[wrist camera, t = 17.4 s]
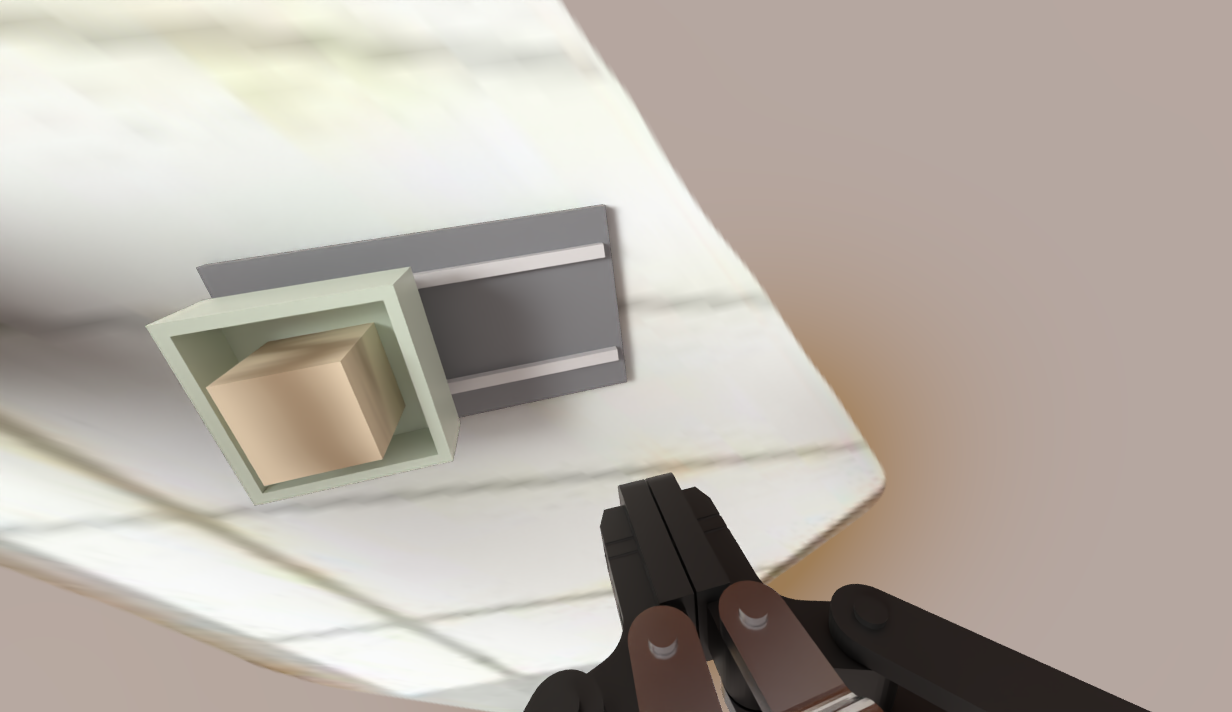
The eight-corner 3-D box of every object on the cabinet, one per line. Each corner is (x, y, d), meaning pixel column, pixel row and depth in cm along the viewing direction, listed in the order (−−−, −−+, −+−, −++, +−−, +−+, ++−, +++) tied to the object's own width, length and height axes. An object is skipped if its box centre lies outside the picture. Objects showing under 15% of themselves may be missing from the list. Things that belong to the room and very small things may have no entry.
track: (298, 445, 29) (289, 458, 28) (205, 264, 24) (188, 270, 23) (624, 377, 32) (629, 385, 31) (602, 204, 27) (606, 206, 26)
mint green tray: (303, 440, 27) (254, 505, 22) (227, 289, 23) (144, 326, 18) (463, 406, 29) (453, 461, 23) (417, 259, 25) (393, 284, 19)
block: (309, 425, 24) (264, 486, 20) (267, 341, 22) (205, 387, 17) (405, 405, 25) (382, 459, 20) (373, 322, 23) (340, 361, 18)
